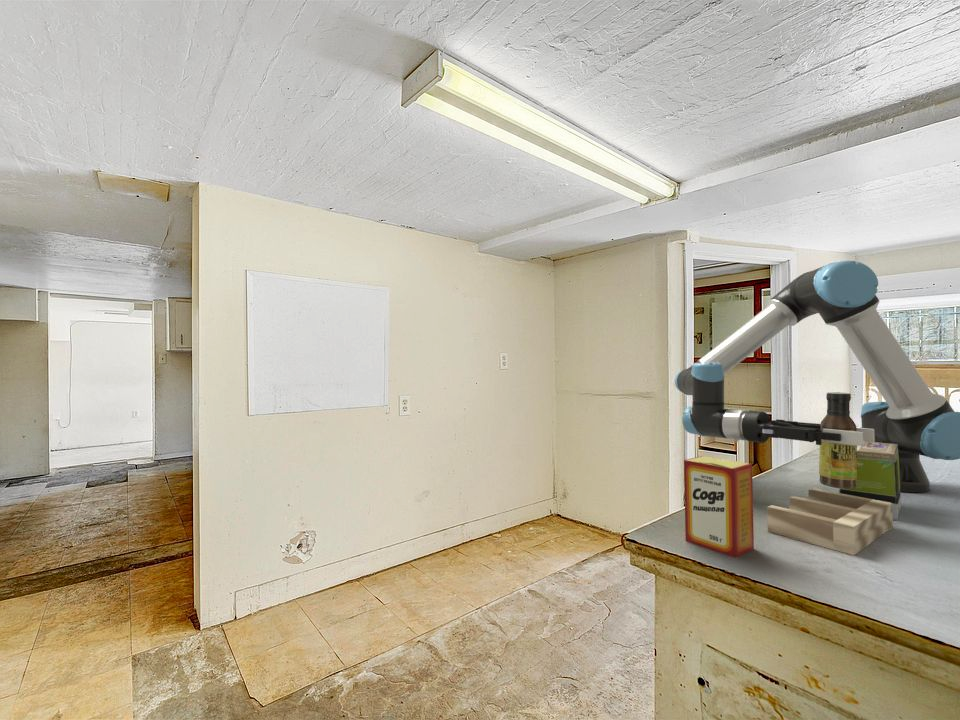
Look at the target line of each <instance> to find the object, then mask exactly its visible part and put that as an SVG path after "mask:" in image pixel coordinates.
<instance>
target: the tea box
mask: <svg viewBox="0 0 960 720" xmlns="http://www.w3.org/2000/svg"><path fill="white" fill-rule="evenodd" d="M863 445H864V446H857V479H856V487H855V488H853V489H841V488H838V489H839V492H838V493H841V494H847V495H852V496H858V497H863V498H868V499H874V500H879V501H885V502H890V503H892V516H893V521H898V518H899V513H900V510H901V505H902V497H901V495H902V493H901V491H900V471H899V454H898V445H897V444H889V443H878V442H864V441H863Z"/></svg>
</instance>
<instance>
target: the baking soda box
mask: <svg viewBox="0 0 960 720" xmlns="http://www.w3.org/2000/svg"><path fill="white" fill-rule="evenodd" d="M683 473H684V475H683V476H684V477H683V479H684V481H683V482H684V483H683V484H684V522H685V523H684V524H685V525H684V526H685V527H684V530H685V535H684V537H685V541H686V542H688V543H692V544H695V545H698V546H700V547H702V548H706V549H709V550H712V551H715V552H718V553H721V554H724V555H727V556H730V557H732V558H738V557H740V556H742V555H744V554H747V553H748V552H751V551H752V550H754V549H755V543H754V542H755V540H754V537H755V536H754V535H755V533H754V532H755V531H754V505H753V504H754V497H753V496H754V495H753V493H754V491H753V490H754V489H753V488H754V487H753V464H752V463H749V462H744V461H743V462H741V461H737V460H733V459H726V458H724V459H722V458H717V457H716V458H715V457H709V456H705V455H701V456H696V457H691V458H687V459H684V460H683Z"/></svg>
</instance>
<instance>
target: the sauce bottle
mask: <svg viewBox="0 0 960 720" xmlns="http://www.w3.org/2000/svg"><path fill="white" fill-rule="evenodd" d="M825 395H826V398H825V399H826V403H827V404H826V406H827V408H826V415H825V416H824V417H823V419H822V420H821V421H820V423H819V424H820V430H821V432H823V429H833V430H844V431H855V432H856V430H857V428H858V427H857V424H856V423H855V421H854V420H853V419H852V417H851V415H850V413H851V411H850V402H851V400H852V394H851V393H850V392H842V391H841V392H840V391H832V392H831V391H829V392H828V391H827V392H826V394H825ZM821 440H822V445H819V455H818V456H819V466H818V467H819V471H818V475H819V483H820V484H821V485H824V486H826V487H830V488H834V489H839V488H841V489H853V488H855V487H856V479H857V446H856V445H847V444H838V443H829V442H823V439H821Z"/></svg>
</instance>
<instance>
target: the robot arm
mask: <svg viewBox="0 0 960 720" xmlns="http://www.w3.org/2000/svg"><path fill="white" fill-rule="evenodd" d="M877 287H879V279H878V277H877V274H876V272H875V271H874V270H873V269H872V268H871V267H869V266H868V265H867V264H864V263H862V262H860V261H855V260H841V261H835V262H830V263H828V264H825V265H823V266H820V267H818V268H815V269H813V270H809V271H807V272H804V273H802V274H800V275H799V276H797V277H796V278H795V279H793V280H792V281H790V282H789V283H788V284H787V285H786V286H785V287H783V288H782V289H781V290H780V291H778V292H777V293H776V294H775V295H774V296H773V297H771V298H770V299H768V301H767V302H766V307H765V308H763V309H762V310H761V311H759V312H758V313H757V314H756V315H754V316H753V317H752V318H751V319H750V320H748V321H746V322H745V323H744V324H743V325H741V327H739V328H738V329H737V330H735V331H734V332H733V333H732V334H730V335H729V336H728V337H726V338H725V339H724V340H723V341H721V342H719V343H718V344H717V345H716V346H715V347H713V348H712V349H711V350H710V351H708V352H707V353H706V354H704V355H703V356H702V357H701V358H699V359H698V360H697V361H696V362H694V363H693V364H692V365H691V366H689V367H688V368H683V369H682V370H679V372H678V373H676V375H675V377H674V385H675V387H676V389H677V390H678V391H679V392H681V393H682V394H684V395H687V396H692V401H691V402H692V404H691V406H687V407H686V408H685V409H684V410H683V413H682V414H683V416H682V418H681V422H682V427H683V428H684V430H685V431H686V432H687V433H688V434H692V435H697V436H701V437H709V438H710V437H712V438H719V439H727V440H728V439H729V440H733V442H735V443H738V441H747V442H750V443H751V442H752V443H759V444H760V443H761V444H763V443H767V441H768V440H769V439H770V438H771V439H772V438H773V439H785V440H794V441H800V442H808V443H814V442H815V445H817V446H820V445H822V440H821V439H823V442H829V443H838V444H847V445H856V446H864V445H863V441H864V442H878V443H889V444H897V445H898V454H899V471H900V491H901V492H902V493H904V492H905V493H926V492H929V491H930V486H931V485H930V480H929V478H928V475H927V473H926V471H925V469H924V466H923V465H922V463H921V460H920V456H923V457H927V458H931V459H933V460H944V461H955V460H960V411H955V410H954V408H953V407H952V405H950V402H949V401H948V400H947V397H945V396H944V395H941V394H937V393H933V392H932V391H931V389H930V388H929V386H928V384H927V383H926V382H925V381H924V379H923V377H922V376H921V375H920V373H919V371H918V370H917V368H916V367H915V365H914V364H913V362H912V361H911V360H910V358H909V356H908V355H907V354H906V352H905V350H904V349H903V348H902V346H901V345H900V343H899V341H898V340H897V339H896V337H895V336H894V334H893V333H892V331H891V330H890V328H889V326H888V325H887V324H886V322H885V321H884V319H883V318H882V316H881V315H880V313H879V312H878V310H877V308H878V307H879V304H880V299H879V298H878V296H877V295H876V294H877V293H878V290H879V289H878V288H877ZM816 314H818V315H819V316H820V317H821V319H822V320H823V322H824V323H825V325H828V326H832V327H835V328H836V329H837V330H838V331H839V333H840V334H841V336H842V337H843V339H844V340H845V343H846V344H847V345H848V346H849V348H850V349H851V351H852V353H853V354H854V355H855V358H856V359H857V360H858V362H859V363H860V365H861V366H862V367H863V369H864V371H865V373H866V374H867V375H868V377H869V378H870V380H871V381H872V382H873V385H874V386H875V387H876V389H877V390H878V392H879V393H880V395H881V396H882V398H883V399H884V401H872V402H871V401H870V402H865V403H863V404H862V406H861V410H860V418H861V427H856V428H857V430H856V432H855V431H844V430H833V429H823V432H821V430H820V424H821V423H816V422H815V423H813V422H803V421H802V422H801V421H793V420H785V419H774V420H773V419H771V418H770V416H769V414H768V413H767V412H766V411H764V410H762V411H761V410H746V409H735V408H734V409H733V408H725V375H726V374H727V373H728V372H730V371H731V370H732V369H733V368H736V366H737V365H738V364H740V363H741V362H742V361H744V360H745V359H747V357H750V355H752V354H753V353H754V352H756V351H757V350H758V349H760V348H761V347H762V346H763V345H765V344H767V342H769V341H770V340H771V339H773V338H774V337H775V336H777V335H778V334H779V333H780V332H782V331H783V330H784V329H785V328H787V327H788V326H789V327H792V326H793V327H794V326H796V325H797V324H798V323H799V322H801V321H803V320H804V319H807V318H808V317H811V316H814V315H816Z"/></svg>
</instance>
